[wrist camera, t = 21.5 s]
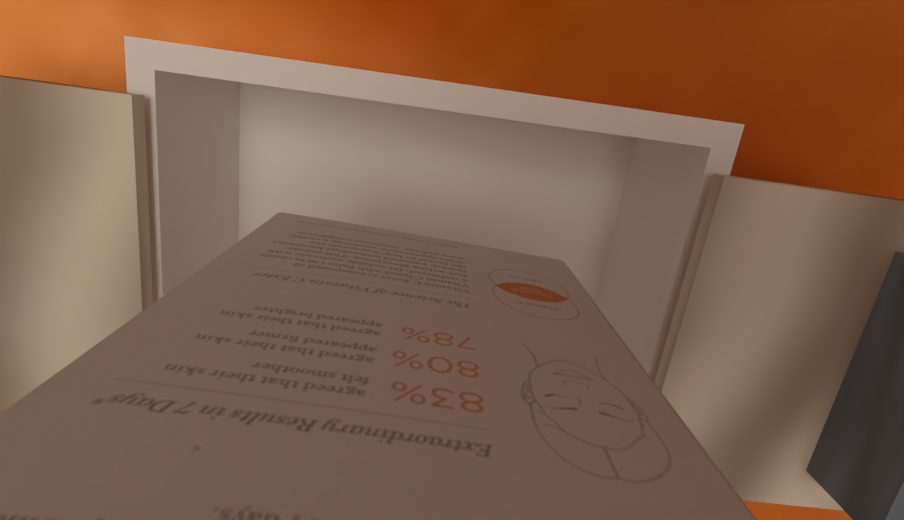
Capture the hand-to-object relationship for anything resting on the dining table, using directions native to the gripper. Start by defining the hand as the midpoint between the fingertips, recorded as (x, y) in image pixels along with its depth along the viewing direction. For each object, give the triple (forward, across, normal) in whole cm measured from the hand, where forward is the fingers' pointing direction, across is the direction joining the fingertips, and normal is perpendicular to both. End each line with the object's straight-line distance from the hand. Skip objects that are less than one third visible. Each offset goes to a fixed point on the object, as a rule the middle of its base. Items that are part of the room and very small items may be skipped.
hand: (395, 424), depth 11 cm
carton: (+13, 0, 0) cm, 13 cm away
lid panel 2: (+6, -13, 0) cm, 14 cm away
